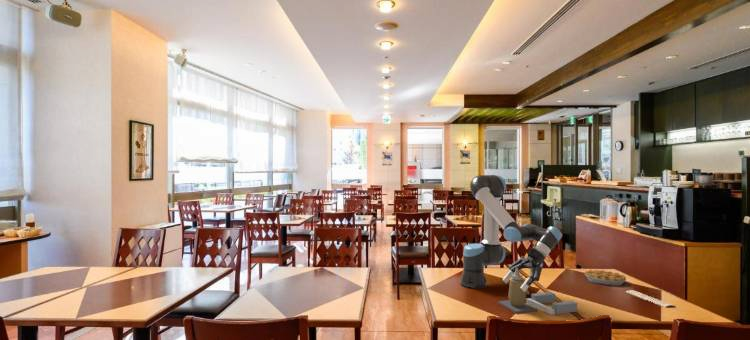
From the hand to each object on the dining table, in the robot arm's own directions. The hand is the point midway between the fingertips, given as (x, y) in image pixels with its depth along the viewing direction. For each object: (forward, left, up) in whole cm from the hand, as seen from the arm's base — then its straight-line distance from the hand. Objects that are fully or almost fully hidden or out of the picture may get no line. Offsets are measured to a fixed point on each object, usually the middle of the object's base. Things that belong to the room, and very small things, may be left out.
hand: (513, 285), depth 177 cm
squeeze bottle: (0, +2, -10) cm, 10 cm away
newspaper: (+9, +78, -12) cm, 79 cm away
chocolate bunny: (-16, +17, -11) cm, 26 cm away
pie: (-24, +84, -11) cm, 88 cm away
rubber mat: (0, +2, -11) cm, 11 cm away
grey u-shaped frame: (+4, +19, -11) cm, 22 cm away
